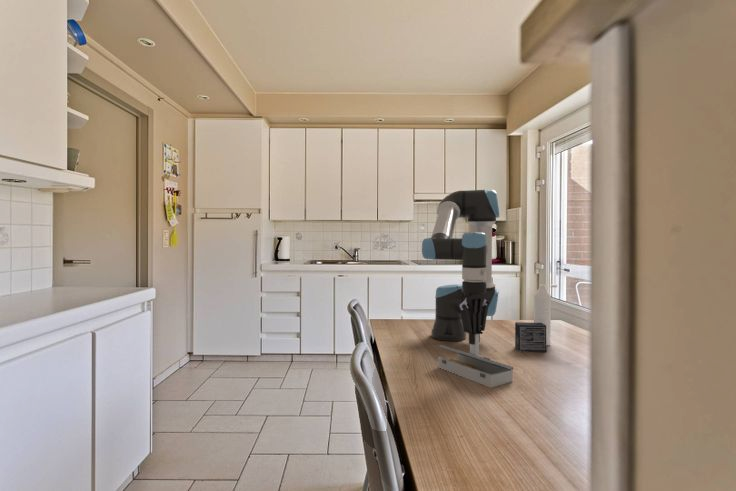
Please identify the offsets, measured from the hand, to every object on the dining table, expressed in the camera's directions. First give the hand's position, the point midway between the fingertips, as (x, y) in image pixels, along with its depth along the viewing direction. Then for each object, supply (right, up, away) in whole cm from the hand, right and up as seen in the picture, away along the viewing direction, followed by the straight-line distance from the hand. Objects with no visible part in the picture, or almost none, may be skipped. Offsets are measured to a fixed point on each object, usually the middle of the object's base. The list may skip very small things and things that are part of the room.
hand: (474, 353), depth 129 cm
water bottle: (+40, -7, +39) cm, 56 cm away
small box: (+30, -7, +30) cm, 43 cm away
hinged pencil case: (0, -7, 0) cm, 7 cm away
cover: (0, -1, 0) cm, 1 cm away
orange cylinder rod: (-3, -7, +4) cm, 8 cm away
